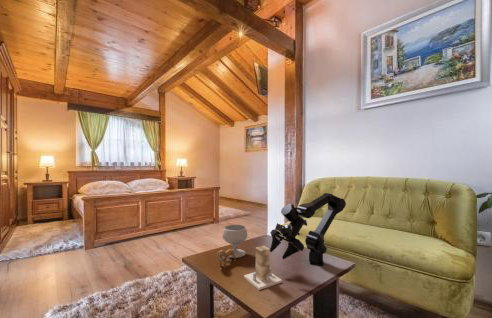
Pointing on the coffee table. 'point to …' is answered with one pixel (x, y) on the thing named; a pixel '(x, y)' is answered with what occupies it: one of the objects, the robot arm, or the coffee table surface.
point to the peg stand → (269, 281)
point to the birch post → (262, 262)
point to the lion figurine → (225, 256)
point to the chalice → (235, 238)
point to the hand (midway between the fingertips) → (276, 255)
